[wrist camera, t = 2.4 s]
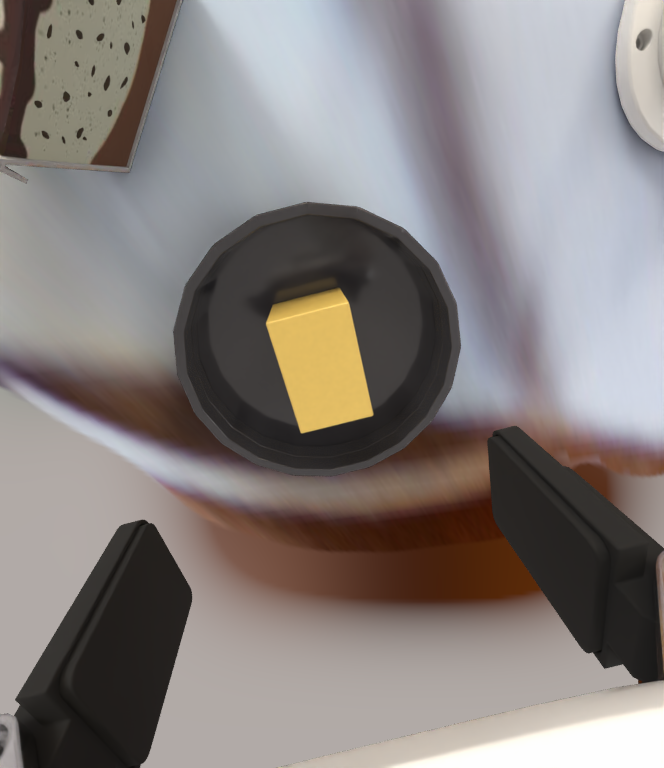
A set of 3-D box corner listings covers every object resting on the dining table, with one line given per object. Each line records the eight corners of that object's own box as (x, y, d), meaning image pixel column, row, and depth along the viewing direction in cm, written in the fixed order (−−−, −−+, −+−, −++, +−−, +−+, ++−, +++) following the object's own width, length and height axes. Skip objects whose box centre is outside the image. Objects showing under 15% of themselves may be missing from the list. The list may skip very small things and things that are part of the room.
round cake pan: (422, 174, 22) (443, 165, 19) (451, 418, 29) (470, 443, 25) (147, 247, 22) (121, 250, 19) (241, 470, 29) (233, 500, 26)
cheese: (339, 287, 24) (348, 301, 19) (361, 383, 26) (373, 416, 22) (272, 304, 24) (265, 323, 19) (301, 398, 26) (300, 434, 22)
